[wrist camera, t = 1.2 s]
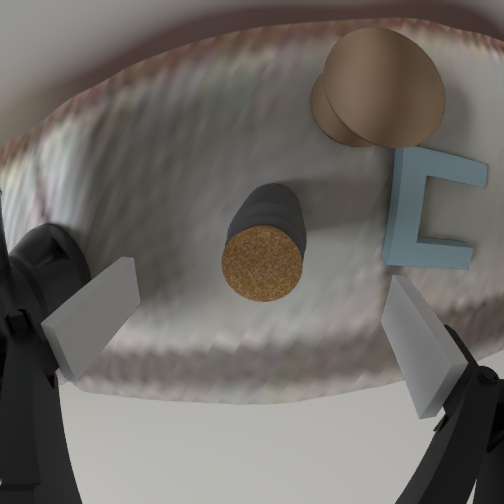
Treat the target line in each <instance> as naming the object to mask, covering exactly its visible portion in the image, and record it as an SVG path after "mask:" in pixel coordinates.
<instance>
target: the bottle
mask: <svg viewBox="0 0 504 504" xmlns="http://www.w3.org/2000/svg"><path fill="white" fill-rule="evenodd" d="M306 242H307V241H306V231H305V226H304V221H303V217H302V213H301V209H300V205H299V202H298V200H297V198H296V196H295V195H294V194H293V192H291V191H290V190H289V189H288V188H286V187H284V186H282V185H279V184H266V185H263V186H260V187H259V188H257V189H256V190H254V191H253V192H252V193H251V194H250V196H249V197H248V198H247V200H246V201H245V202H244V204H243V205H242V207H241V208H240V209H239V211H238V212H237V214H236V215H235V217H234V218H233V220H232V222H231V224H230V226H229V229H228V235H227V241H226V244H225V249H224V252H223V256H222V271H223V274H224V277H225V279H226V281H227V282H228V284H229V286H230V287H231V288H232V289H233V290H234V291H235V292H237V293H238V294H239V295H241V296H243V297H245V298H247V299H250V300H254V301H261V302H266V301H273V300H277V299H279V298H282V297H284V296H285V295H287V294H288V293H290V292H291V291H292V290H293V289H294V287H295V286H296V285H297V283H298V281H299V279H300V277H301V274H302V263H303V259H304V252H305V249H306Z"/></svg>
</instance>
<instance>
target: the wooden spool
mask: <svg viewBox="0 0 504 504" xmlns="http://www.w3.org/2000/svg"><path fill="white" fill-rule="evenodd" d="M444 108H445V93H444V87H443V83H442V80H441V77H440V75H439V72H438V70H437V68H436V67H435V65H434V63H433V62H432V60H431V59H430V58H429V56H428V55H427V54H426V53H425V52H424V51H423V49H421V48H420V47H419V46H418V45H417V44H416V43H414V42H413V41H412V40H410V39H409V38H407V37H405V36H403V35H402V34H399V33H397V32H395V31H391V30H388V29H383V28H374V27H370V28H362V29H357V30H355V31H352V32H350V33H348V34H346V35H345V36H343V37H342V38H341V39H340V40H339V41H338V42H337V43H336V44H335V45H334V47H333V48H332V50H331V52H330V54H329V56H328V58H327V61H326V63H325V68H324V73H323V74H321V76H320V77H319V78H318V80H317V81H316V83H315V85H314V87H313V90H312V94H311V109H312V113H313V116H314V119H315V121H316V123H317V124H318V126H319V127H320V128H321V130H322V131H323V132H324V133H325V134H326V135H327V136H329V137H330V138H331V139H333V140H335V141H336V142H338V143H341V144H344V145H347V146H354V147H364V146H370V145H373V144H374V145H376V146H381V147H387V148H407V147H412V146H415V145H418V144H420V143H422V142H424V141H425V140H427V139H428V138H429V137H430V136H431V135H432V134H433V133H434V132H435V131H436V129H437V128H438V126H439V124H440V122H441V120H442V117H443V114H444Z"/></svg>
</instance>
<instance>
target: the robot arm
mask: <svg viewBox="0 0 504 504" xmlns="http://www.w3.org/2000/svg"><path fill="white" fill-rule="evenodd" d="M1 195H2V190H1V189H0V481H1V485H0V504H82V501H81V498H80V494H79V491H78V488H77V484H76V481H75V478H74V474H73V470H72V466H71V462H70V458H69V453H68V448H67V443H66V438H65V433H64V427H63V420H62V414H61V406H60V398H59V387H58V378H57V375H56V373H55V371H56V370H57V369H58V368H60V370H61V372H62V374H63V376H64V377H65V378H67V379H69V380H72V381H74V382H78V381H79V380H80V378H81V377H82V376H83V374H84V373H85V372H86V370H87V369H88V368H89V366H90V365H91V364H92V363H93V361H94V360H95V359H96V358H97V356H98V355H99V354H100V352H101V351H102V350H103V349H104V347H105V346H106V345H107V344H108V342H109V341H110V340H111V339H112V337H113V336H114V335H115V334H116V333H117V331H118V330H119V329H120V328H121V326H122V325H123V324H124V323H125V322H126V320H127V319H128V318H129V317H130V316H131V314H132V313H133V312H134V311H135V310H136V308H137V307H138V306H139V305H140V304H141V300H140V295H139V289H138V283H137V276H136V270H135V263H134V258H133V257H121V258H119V259H118V260H117V261H115V262H114V263H113V264H112V265H110V266H109V267H108V268H106V269H105V270H104V271H103V272H101V273H100V274H99V275H98V276H96V277H95V278H94V279H93V280H91V279H90V274H89V270H88V267H87V264H86V261H85V259H84V257H83V255H82V253H81V251H80V249H79V248H78V246H77V245H76V243H75V242H74V241H73V239H72V238H71V237H70V236H69V235H68V234H67V233H66V232H64V231H63V230H62V229H60V228H59V227H57V226H54V225H50V224H43V225H40V226H38V227H36V228H34V229H32V230H30V231H29V232H28V233H27V234H26V235H25V236H24V237H23V238H22V239H21V240H20V241H19V243H18V244H17V245H16V246H15V247H14V249H13V250H12V251H11V252H10V253H9V255H8V251H7V245H6V239H5V233H4V226H3V218H2V209H1ZM381 324H382V326H383V328H384V330H385V333H386V335H387V337H388V340H389V342H390V344H391V347H392V349H393V351H394V354H395V356H396V359H397V361H398V363H399V366H400V368H401V371H402V373H403V376H404V379H405V381H406V383H407V386H408V389H409V392H410V394H411V397H412V400H413V403H414V405H415V408H416V411H417V414H418V417H419V419H423V418H429V417H435V416H436V415H437V414H438V412H439V410H440V409H441V408H442V406H443V408H444V410H445V413H446V414H445V415H444V416H443V418H442V419H441V420H440V422H439V423H438V425H437V426H436V427H435V429H434V430H433V431H436V433H435V435H434V437H433V439H432V441H431V443H430V445H429V447H428V449H427V451H426V453H425V455H424V457H423V459H422V460H421V462H420V464H419V466H418V468H417V469H416V472H415V473H414V475H413V476H412V478H411V480H410V481H409V483H408V484H407V486H406V488H405V489H404V491H403V493H402V494H401V495H400V497H399V498H398V500H397V501H396V503H395V504H466V503H467V501H468V499H469V496H470V494H471V492H472V489H473V486H474V484H475V481H476V479H477V481H476V488H475V494H474V499H473V504H504V379H499V377H498V375H497V374H496V372H494V370H492V369H491V368H489V367H486V366H478V364H477V362H476V361H475V359H474V358H473V356H472V355H471V353H470V352H469V350H468V349H467V347H466V346H465V344H464V343H463V341H462V340H460V337H459V336H458V334H457V333H456V332H455V331H454V330H453V329H452V328H451V327H449V326H448V325H443V324H442V323H441V321H440V320H439V318H438V317H437V316H436V314H435V313H434V311H433V310H432V309H431V307H430V306H429V305H428V303H427V302H426V301H425V299H424V298H423V297H422V295H421V294H420V293H419V291H418V290H417V289H416V288H415V286H414V285H413V284H412V283H411V281H410V280H409V279H408V277H407V276H404V275H393V276H392V281H391V285H390V289H389V293H388V297H387V301H386V304H385V308H384V312H383V315H382V319H381Z"/></svg>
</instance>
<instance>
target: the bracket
mask: <svg viewBox="0 0 504 504" xmlns="http://www.w3.org/2000/svg"><path fill="white" fill-rule="evenodd" d="M426 175H427V176H433V177H438V178H443V179H447V180H452V181H457V182H461V183H465V184H469V185H474V186H478V187H482V188H485V185H486V176H487V165H486V164H482V163H479V162H476V161H472V160H469V159H465V158H462V157H458V156H454V155H451V154H447V153H443V152H439V151H434V150H430V149H426V148H421V147H416V146H412V147H407V148H395V158H394V171H393V182H392V191H391V200H390V207H389V215H388V222H387V228H386V235H385V241H384V246H383V252H382V258H383V259H384V261H385V262H386V263H387V265H396V266H413V267H430V268H448V269H466V270H468V269H469V266H470V262H471V258H472V255H473V251H474V248H473V247H471V246H470V245H468V244H467V243H466V242H462V241H453V240H444V239H434V238H424V237H417V236H418V231H419V225H420V219H421V213H422V206H423V199H424V191H425V183H426Z"/></svg>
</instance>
